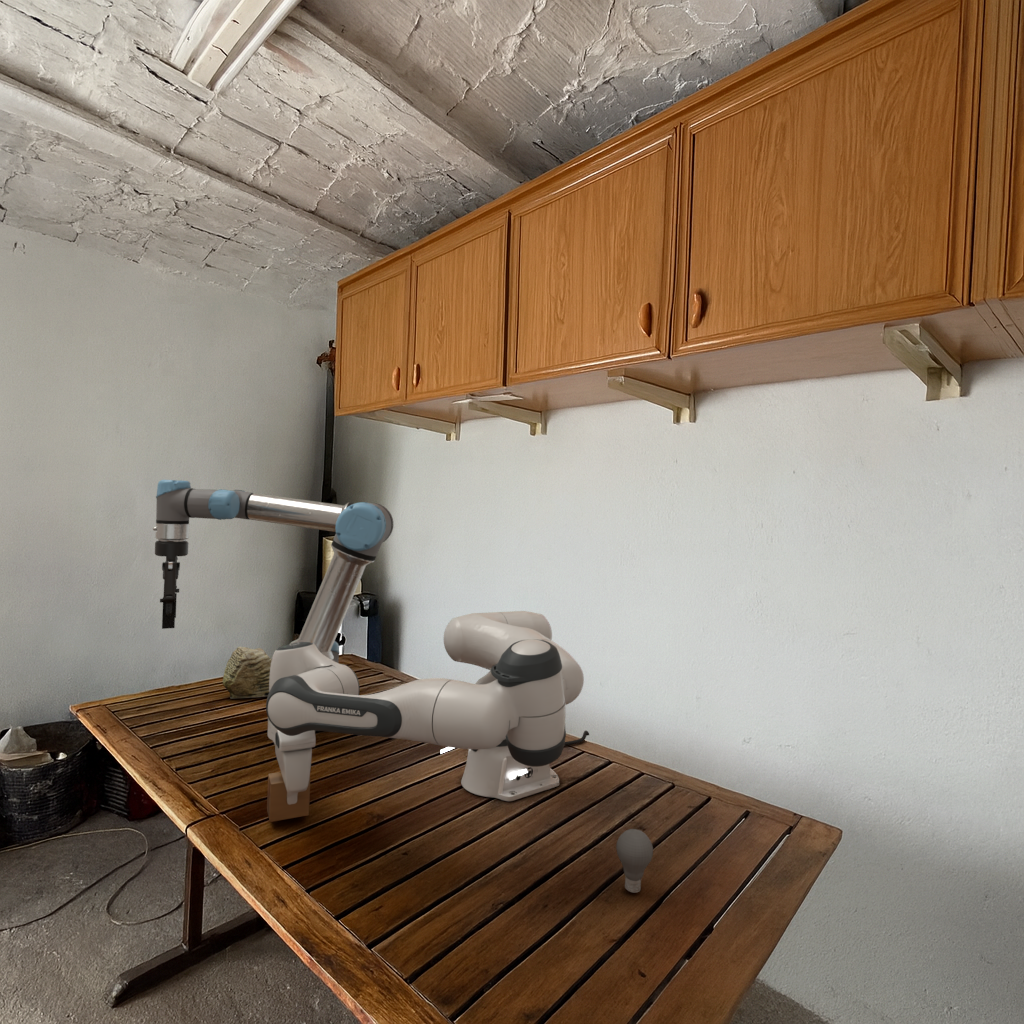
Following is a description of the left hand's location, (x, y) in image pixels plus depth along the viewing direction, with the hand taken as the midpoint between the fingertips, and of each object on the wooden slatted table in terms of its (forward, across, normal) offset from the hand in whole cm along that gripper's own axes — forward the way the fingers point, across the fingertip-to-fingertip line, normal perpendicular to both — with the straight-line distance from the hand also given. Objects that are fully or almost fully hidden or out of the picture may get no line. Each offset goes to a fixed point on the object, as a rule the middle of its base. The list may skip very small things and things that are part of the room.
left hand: (169, 623), depth 162 cm
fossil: (+29, -28, +24) cm, 47 cm away
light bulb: (+29, +100, +72) cm, 127 cm away
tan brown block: (+28, +55, +23) cm, 66 cm away
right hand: (+24, +55, +23) cm, 65 cm away
